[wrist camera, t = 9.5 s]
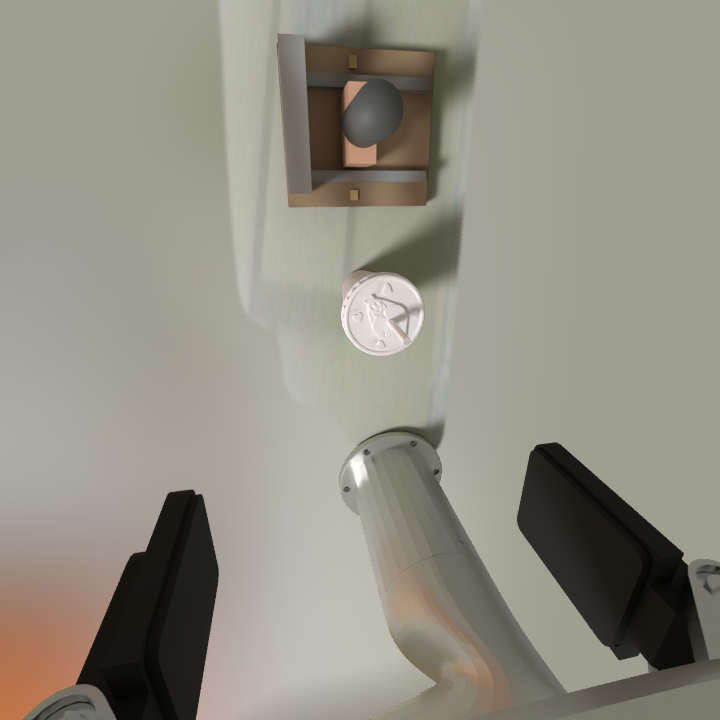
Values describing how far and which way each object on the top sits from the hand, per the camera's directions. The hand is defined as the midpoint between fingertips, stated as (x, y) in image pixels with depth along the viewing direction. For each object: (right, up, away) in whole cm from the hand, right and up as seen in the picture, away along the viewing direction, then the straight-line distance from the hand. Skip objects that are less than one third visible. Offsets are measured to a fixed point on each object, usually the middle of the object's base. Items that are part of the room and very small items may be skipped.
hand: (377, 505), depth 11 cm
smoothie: (0, +11, +27) cm, 29 cm away
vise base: (-1, +23, +21) cm, 31 cm away
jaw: (-1, +22, +20) cm, 30 cm away
